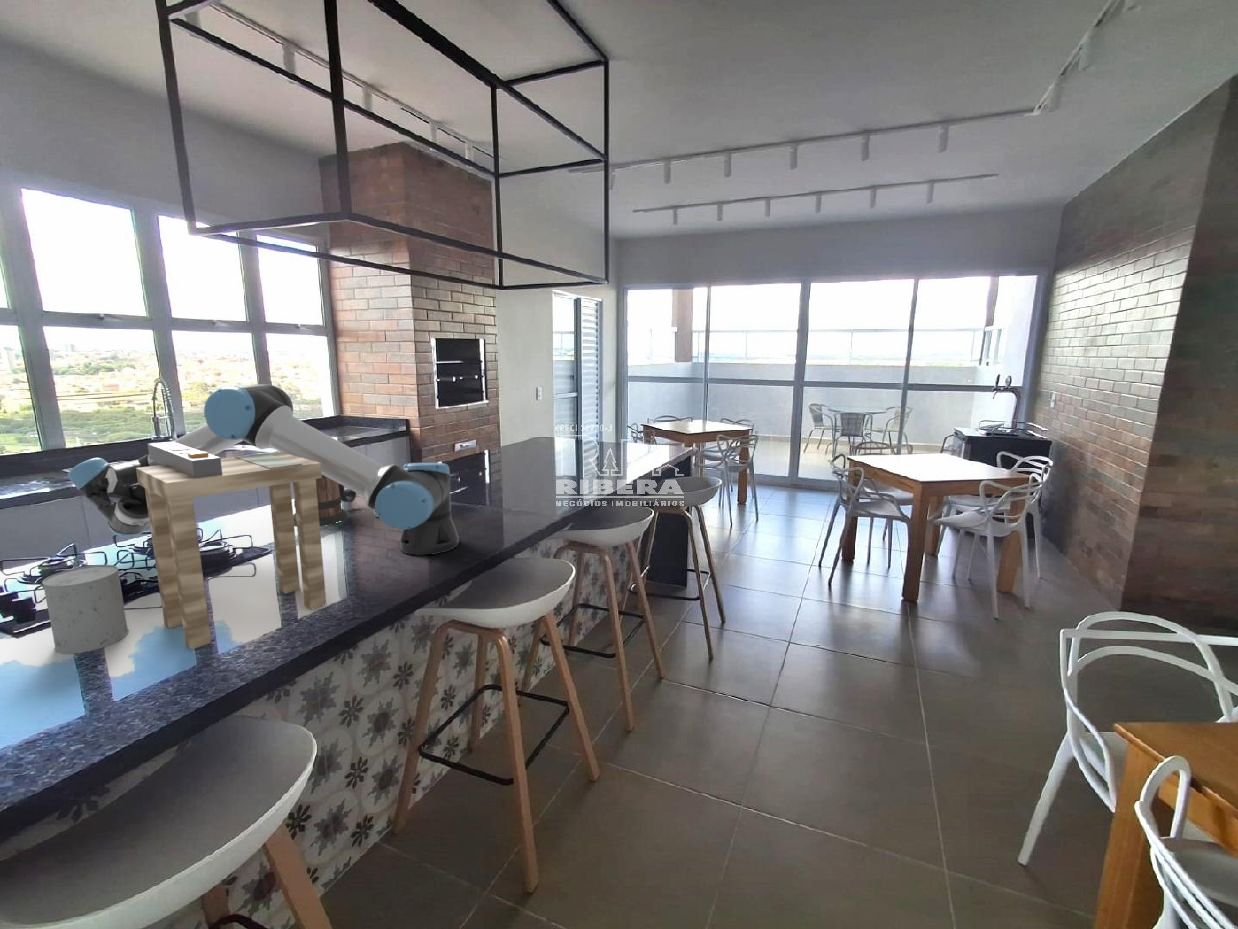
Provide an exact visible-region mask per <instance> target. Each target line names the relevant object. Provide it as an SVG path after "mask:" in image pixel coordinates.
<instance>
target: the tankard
mask: <svg viewBox="0 0 1238 929" xmlns="http://www.w3.org/2000/svg"><path fill="white" fill-rule="evenodd" d="M321 475H322V474H321ZM316 488H317V500H318V512H319V524H320V527H325V525H327V526H331V525H330V524H333V525H335V524H334V523H336V522H339V521H343V522H345V521H347V520H348V519H349V518H350V517H349V516H350V514H349V513H347V511H346V510H345V509H343V508H342V507H343V506H342V502H344V503H353V502H354V501H355V500H356V497H357V493H356V492H354V491H352V490H350V489H348V488H347V489H345V486H343V485H341V484H339V483H337V482H335V481H333V480H332V479H330V478H328V477H326V476H324V475H322V478H317V479H316ZM293 503H294V504H293V505H294V508H295V500H294V502H293ZM348 517H349V518H348ZM347 518H348V519H347ZM293 519H294V527H295V528H297V520H296V512H295V513H293ZM346 519H347V520H346Z"/></svg>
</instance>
